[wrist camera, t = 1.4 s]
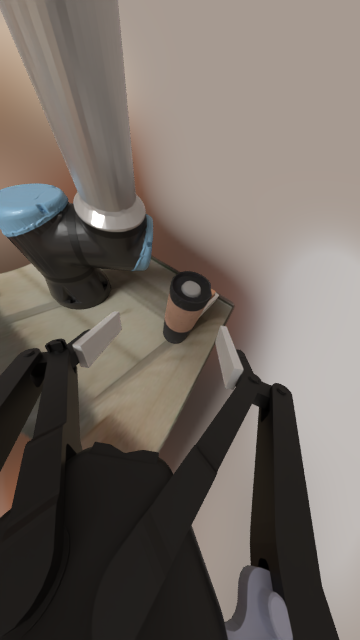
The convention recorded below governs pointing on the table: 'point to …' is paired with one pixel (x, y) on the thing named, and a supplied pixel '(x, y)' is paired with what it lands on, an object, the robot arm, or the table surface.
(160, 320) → the table surface
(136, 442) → the table surface
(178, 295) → the travel mug
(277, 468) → the robot arm
